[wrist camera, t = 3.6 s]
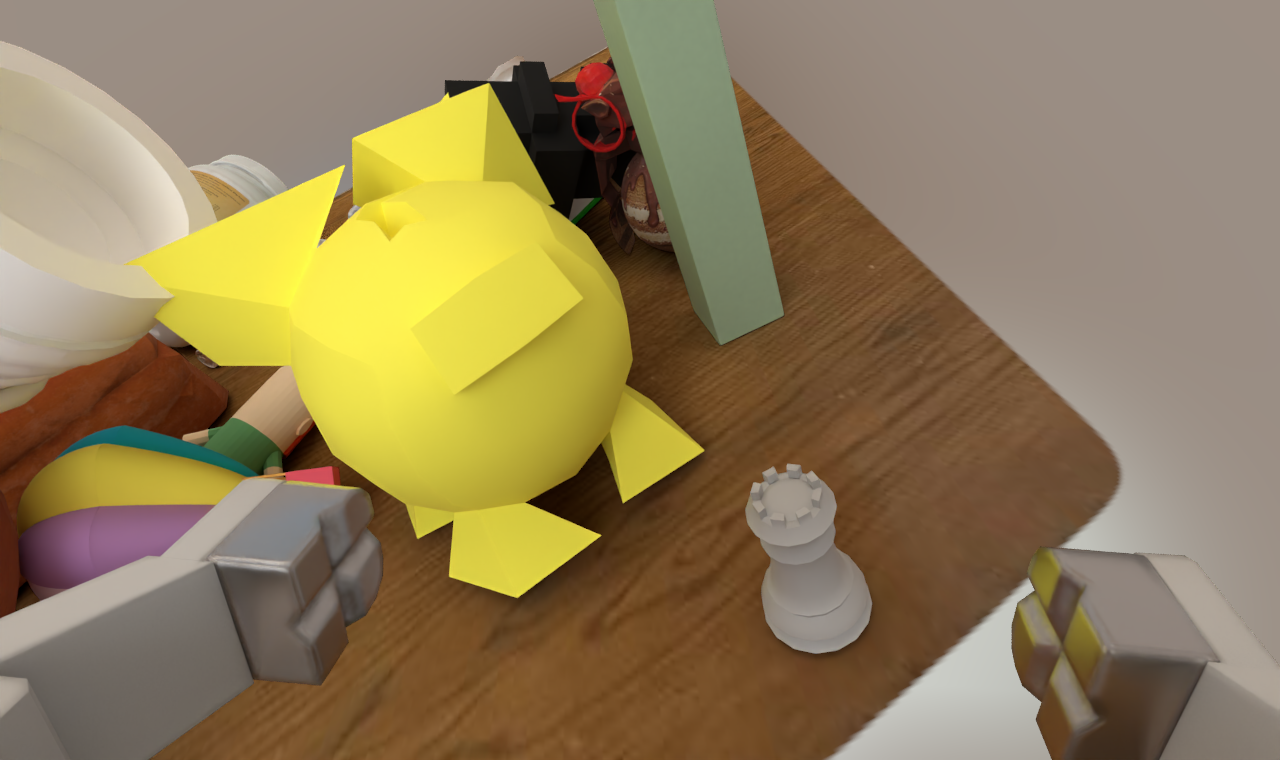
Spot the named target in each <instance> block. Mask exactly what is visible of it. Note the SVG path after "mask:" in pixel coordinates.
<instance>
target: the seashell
mask: <svg viewBox="0 0 1280 760" xmlns="http://www.w3.org/2000/svg"><path fill="white" fill-rule="evenodd" d="M520 61H525V60H524V59H523V57H519V56H516V57H515V58H512V60H509V61H507V62H506V63H503V65H499V66H498V67H497V69H496V71H495V72H494V74H493V75H492V76H491V77H490V78H489V79H487V81H512V74H513V65H520Z"/></svg>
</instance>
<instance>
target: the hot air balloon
mask: <svg viewBox="0 0 1280 760" xmlns="http://www.w3.org/2000/svg"><path fill="white" fill-rule="evenodd" d="M284 475H286V477H282V478H275V479H280V480H286V481H290V480H292V481H302V482H311V483H320V484H329V485H338V486H341V484H340V475H339V467H334V466H329V467H322V468H314V469H307V470H299V471H292V472H285V473H277V474H270V475H262V476H259V475H258V474H256V473H255V472H254V471H252V470H251V469H249V468H248V467H246V466H244V465H243V464H241V463H239V462H237V461H235V460H233V459H231V458H229V457H227V456H225V455H223V454H220V453H218V452H215V451H213V450H210V449H208V448H205V447H202V446H199V445H196V444H193V443H190V442H187V441H184V440H181V439H177V438H174V437H170V436H167V435H163V434H159V433H155V432H151V431H147V430H143V429H139V428H135V427H130V426H126V425H124V426H117V427H113V428H108V429H105V430H101V431H98V432H95V433H93V434H91V435H88V436H86V437H84V438H83V439H81V440H79V441H77V442H76V443H74V444H73V445H71V446H70V447H69V448H67V449H66V450H65V451H63V452H62V453H61V454H60V455H59V456H58V457H57V458H56V459H55V460H54V461H53V462H51V463H50V464H48V465H47V466H46V467H44V468H43V469H42V470H41V471H40V472H39V473H38V474H37V475H36V476H35V477H34V478H33V479H32V481H31V482H30V483H29V485H28V486H27V488H26V489H25V491H24V493H23V495H22V497H21V500H20V503H19V507H18V512H17V532H18V536H19V540H18V548H19V563H20V574H21V575H22V576H23V577H24V578H25V579H27V581H28V583H29V585H30V588H31V589H32V591H33V592H34V594H35V595H36V596H37V597H38V598H39V599H40V600H41V601H42V600H44V599H47V598H49V597H52V596H54V595H56V594H59V593H61V592H63V591H66V590H68V589H70V588H73V587H75V586H78V585H80V584H82V583H85V582H87V581H89V580H92V579H94V578H96V577H99V576H101V575H103V574H106V573H108V572H111V571H113V570H115V569H118V568H120V567H122V566H125V565H127V564H129V563H132V562H134V561H137V560H139V559H141V558H144V557H146V556H158V557H160V556H161V555H162V554H163V553H164V552H166V551H167V550H168V549H169V548H170V547H171V546H172V545H173V544H174V543H175V542H176V541H177V540H179V539H180V538H181V537H182V536H183V535H184V534H185V533H186V532H187V531H188V530H189V529H191V528H192V527H193V526H194V525H195V524H196V523H197V522H198V521H199V520H200V519H201V518H202V517H204V516H205V515H206V514H207V513H208V512H209V511H210V510H211V509H212V508H213V507H214V506H215V505H217V504H218V503H219V502H220V501H221V500H222V499H223V498H224V497H225V496H226V495H227V494H228V493H230V492H231V491H232V490H233V489H234V488H235V487H236V486H237V485H238V484H239V483H240V482H242V481H243V480H246V479H250V478H254V477H258V478H269V477H277V476H284Z"/></svg>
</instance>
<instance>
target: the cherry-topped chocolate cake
mask: <svg viewBox="0 0 1280 760" xmlns="http://www.w3.org/2000/svg"><path fill="white" fill-rule="evenodd" d="M607 63H608V64H609V65H610V67H611V68H612V69H611V68H610V67H609V66H608V65H605V64H603V63H600V62H599V63H591V64H589V65H587V66H585V67H584V68H583V69H582V70H581V71H580V72H579V73H578V75H577V78H576V80H575V84H576V87H577V91H578V92H579V95H578V96H576V97H564V96H560V95H556V94H555V97H556V99H557V100H558V101H559V102H565V103H566V102H574V101H578V103H577V105H576V107H575V110H574V112H573V114H572V127H573V130H574V132H575V135H576V136H577V138H578V139H579V141H580V142H581V143H582V144H583V145H584V146H585V147H587V148H588V149H590V150H592V151H593V152H594V157H595V162H596V167H597V172H598V177H599V183H600V189H601V195H602V196H603V197H604V199H605V200H606V201H607V202H608V204H609V205H610V206H611V212H610V218H609V224H610V227H611V231H612V234H613V236H614V238H615V239H616V241H617V243H618V244H619V246H620V247H621V248H622V249H623V250H624V251H625V252H626V253H628V254H630V252H631V250H632V247H633V245H634V243H635V238H634V233H633V231H634V232H635V234H636V235H637V236H638V237H639V238H640V239H641V240H642V241H644V242H645V243H646V244H648V245H650V246H652V247H655V248H657V249H660V250H662V251H669V252H675V251H674V248H673V245H672V242H671V239H670V236H669V233H668V229H667V226H666V223H665V220H664V217H663V214H662V211H661V208H660V205H659V202H658V199H657V196H656V192H655V189H654V186H653V183H652V180H651V177H650V174H649V171H648V168H647V165H646V162H645V159H644V156H643V152H642V149H641V146H640V143H639V140H638V137H637V134H636V131H635V128H634V125H633V122H632V119H631V115H630V112H629V109H628V106H627V103H626V100H625V97H624V94H623V91H622V88H621V85H620V82H619V78H618V75H617V72H616V69H615V66H614V63H613V60H612V57H610V58H609V60H608V61H607ZM584 102H585V103H584ZM583 103H584V104H583ZM581 104H583V106H582V107H581V108H582V109H584V110H585V111H587V112H589V113H590V114H592V115H594V116H595V120H596V125H597V127H598V129H599V131H600V134H599V136H598V138H597V140H596V141H595V143H594V145H593V144H592V143H590V142H589V141H588V140H586V139H584V138H583V137H581V136H579V135H578V132H577V127H576V115H577V112H578V109H579V107H580V105H581ZM630 149H631V150H633V151H635V152H637V153H636V155H635V156H634V157H633V158H632V160H631V161H630V163H629V164H628V166H627V169H626V171H625V174H624V177H623V181H622V186H621V188H620V187H619V186H618V184H617V183H616V182H615V181H614V180H613V179H612V178H611V177H612V175H613V173H614V171H615V169H616V168H617V155H619V154H621V153H623V152H626V151H628V150H630ZM621 200H622V201H621Z"/></svg>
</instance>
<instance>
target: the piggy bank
mask: <svg viewBox="0 0 1280 760" xmlns="http://www.w3.org/2000/svg"><path fill="white" fill-rule="evenodd" d="M352 161H353V162H352V163H353V164H352V166H353V204H354V205H357V206H359V207H361V208H360V209H359V210H358V211H357V212H356V213H355V214H354V215H353V216H351V217H350V218H349V219H348V220H347V221H346V222H345V223H344V224H343V225H342V226H341V227H340V228H339V229H337V230H336V231H335V232H334V233H333V234H332V235H331V236H330V237H329V238H328V239H327V240H326V241H324V242H323V243H322V244H321V245H320V246H319V247H318V248H317V246H318V243H319V240H320V237H321V234H322V231H323V228H324V225H325V222H326V219H327V217H328V214H329V211H330V208H331V205H332V202H333V199H334V196H335V193H336V190H337V187H338V184H339V181H340V178H341V175H342V173H343V170H344V167H345V165H343V166H341V167H339V168H336V169H334V170H332V171H330V172H327V173H325V174H323V175H321V176H319V177H316V178H314V179H312V180H310V181H307V182H305V183H303V184H301V185H299V186H296V187H294V188H292V189H290V190H287V191H285V192H283V193H281V194H279V195H276V196H274V197H272V198H270V199H268V200H265V201H263V202H261V203H259V204H256V205H254V206H252V207H250V208H248V209H245V210H243V211H241V212H239V213H236V214H234V215H232V216H230V217H228V218H225V219H223V220H221V221H219V222H217V223H214V224H212V225H210V226H208V227H205V228H203V229H201V230H199V231H197V232H194V233H192V234H190V235H188V236H186V237H183V238H181V239H179V240H177V241H174V242H172V243H170V244H168V245H166V246H163V247H161V248H159V249H157V250H154V251H152V252H150V253H148V254H146V255H143V256H141V257H139V258H137V259H135V260H132V261H130V262H128V263H126V264H123V265H136V266H142V267H143V268H144V269H145V270H146V272H147V273H148V274H149V275H150V276H151V277H152V278H153V279H154V280H155V281H156V282H157V283H158V284H159V285H160V286H161V287H162V288H164V289H165V290H167V291H168V292H169V293H171V294H172V295H174V296H175V297H174V298H172V299H171V300H169V301H168V302H167V303H165V304H164V305H163V306H162V307H161V308H160V309H159V311H158V312H157V313H156V314H155V316H154V317H155V318H156V319H157V320H159V321H160V322H161V323H163V324H164V325H165V326H167V327H168V328H169V329H171V330H172V331H173V332H175V333H176V334H177V335H179V336H180V337H181V338H183V339H184V340H185V341H187V342H188V343H189V344H191V345H192V346H194V347H195V348H196V349H198V350H199V351H200V352H202V353H203V354H204V355H206V356H207V357H208V358H210V359H211V360H212V361H214V362H215V363H216V364H218V365H219V366H291V367H292V370H293V373H294V377H295V380H296V383H297V386H298V389H299V392H300V395H301V398H302V400H303V402H304V403H305V405H306V407H307V409H308V411H309V412H310V414H311V416H312V418H313V420H314V422H315V423H316V425H317V427H318V429H319V431H320V432H321V434H322V436H323V438H324V440H325V442H326V443H327V445H328V447H329V449H330V451H331V453H332V454H333V455H334V456H336V457H337V458H338V459H340V460H341V461H343V462H344V463H345V464H347V465H348V466H350V467H351V468H352V469H354V470H355V471H357V472H358V473H359V474H361V475H362V476H364V477H365V478H366V479H368V480H369V481H370V482H372V483H373V484H375V485H376V486H378V487H379V488H381V489H383V490H384V491H386V492H387V493H389V494H390V495H392V496H394V497H395V498H397V499H398V500H400V501H401V502H403V503H405V504H406V507H407V510H408V513H409V516H410V518H411V521H412V524H413V527H414V530H415V533H416V536H417V539H418V538H420V537H422V536H424V535H426V534H428V533H430V532H432V531H434V530H436V529H438V528H440V527H441V526H443V525H445V524H447V523H449V522H451V521H453V520H454V521H453V533H452V545H451V557H450V570H449V577H451V578H455V579H458V580H461V581H464V582H467V583H471V584H474V585H477V586H480V587H483V588H487V589H490V590H493V591H496V592H499V593H503V594H506V595H509V596H512V597H515V598H518V597H519V596H521V595H522V594H523V593H525V592H526V591H527V590H529V589H530V588H531V587H533V586H534V585H535V584H537V583H538V582H539V581H541V580H542V579H544V578H545V577H546V576H548V575H549V574H550V573H552V572H553V571H554V570H556V569H557V568H558V567H560V566H561V565H562V564H564V563H565V562H567V561H568V560H569V559H571V558H572V557H573V556H575V555H576V554H577V553H579V552H580V551H581V550H583V549H584V548H585V547H587V546H588V545H589V544H591V543H592V542H594V541H595V540H596V539H598V538H599V537H600V536H602V535H599V534H597V533H595V532H592V531H590V530H588V529H585V528H583V527H581V526H578V525H576V524H574V523H572V522H569V521H567V520H565V519H562V518H560V517H558V516H555V515H553V514H551V513H548V512H546V511H544V510H541V509H539V508H537V507H534V506H532V505H530V504H527V503H525V502H527V501H529V500H531V499H532V498H534V497H536V496H538V495H540V494H542V493H543V492H545V491H547V490H549V489H551V488H553V487H554V486H556V485H558V484H560V483H562V482H564V481H565V480H567V479H569V478H571V477H573V476H575V475H576V474H577V473H578V472H579V470H580V469H581V468H582V467H583V465H584V464H585V463H586V461H587V460H588V459H589V457H590V456H591V455H592V454H593V452H594V451H595V450H596V448H597V447H598V446H599V445H600V443H602V446H603V448H604V450H605V453H606V455H607V457H608V460H609V462H610V465H611V468H612V471H613V474H614V477H615V480H616V483H617V486H618V490H619V493H620V496H621V499H622V502H623V503H624V502H626V501H627V500H629V499H631V498H632V497H634V496H635V495H637V494H638V493H640V492H641V491H643V490H644V489H646V488H648V487H649V486H651V485H652V484H654V483H655V482H657V481H658V480H660V479H662V478H663V477H665V476H666V475H668V474H669V473H671V472H672V471H674V470H676V469H677V468H679V467H680V466H682V465H683V464H685V463H686V462H688V461H690V460H691V459H693V458H694V457H696V456H697V455H699V454H700V453H702V452H703V451H705V450H704V449H703V448H702V447H701V446H700V445H699V444H697V443H696V442H695V441H694V440H693V439H692V438H691V437H690V436H689V435H688V434H687V433H686V432H685V431H684V430H683V429H682V428H680V427H679V426H678V425H677V424H676V423H675V422H674V421H673V420H672V419H671V418H670V417H669V416H668V415H667V414H666V413H664V412H663V411H662V410H661V409H660V408H659V407H658V406H657V405H656V404H655V403H654V402H653V401H652V400H650V399H649V398H647V397H645V396H644V395H642V394H641V393H639V392H637V391H636V390H634V389H632V388H631V387H629V386H627V385H626V384H625V383H626V380H627V377H628V374H629V371H630V367H631V364H632V361H633V357H632V349H631V342H630V335H629V328H628V321H627V314H626V310H625V306H624V302H623V299H622V295H621V291H620V287H619V283H618V280H617V279H616V277H615V276H614V274H613V273H612V271H611V270H610V268H609V267H608V265H607V264H606V262H605V261H604V259H603V258H602V256H601V255H600V253H599V252H598V250H597V249H596V247H595V246H594V244H593V243H592V241H591V240H590V238H589V237H588V235H587V234H586V233H584V232H583V231H582V230H581V229H579V228H578V227H577V226H576V225H574V224H573V223H572V222H571V221H569V220H568V219H567V218H565V217H564V216H563V215H562V214H560V213H559V212H558V211H556V210H555V209H553V208H552V207H550V206H549V205H551V204H555V203H554V201H553V199H552V197H551V195H550V194H549V192H548V190H547V188H546V186H545V184H544V183H543V181H542V179H541V177H540V175H539V173H538V172H537V170H536V168H535V166H534V164H533V162H532V161H531V159H530V157H529V155H528V153H527V151H526V150H525V148H524V146H523V144H522V142H521V140H520V139H519V137H518V135H517V133H516V131H515V129H514V128H513V126H512V124H511V122H510V120H509V118H508V117H507V115H506V113H505V111H504V109H503V107H502V106H501V104H500V102H499V100H498V98H497V96H496V95H495V93H494V91H493V89H492V87H491V85H490V84H489V83H487V84H485V85H482V86H479V87H476V88H474V89H471V90H468V91H466V92H463V93H461V94H459V95H456V96H454V97H451V98H449V94H448V93H447V94H446V95H445V97H444V98H443V99H442V100H441V101H440V102H439V103H437V104H434V105H432V106H429V107H427V108H425V109H422V110H420V111H417V112H415V113H412V114H410V115H408V116H405V117H403V118H400V119H398V120H395V121H393V122H391V123H388V124H386V125H383V126H381V127H379V128H376V129H373V130H371V131H369V132H366V133H364V134H361V135H359V136H356V137H354V138H352Z"/></svg>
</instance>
